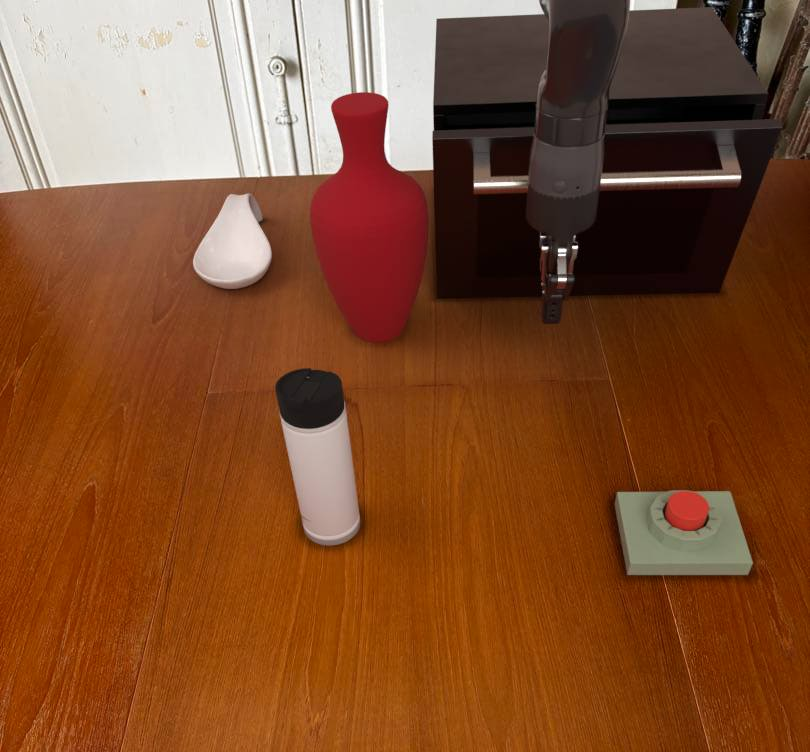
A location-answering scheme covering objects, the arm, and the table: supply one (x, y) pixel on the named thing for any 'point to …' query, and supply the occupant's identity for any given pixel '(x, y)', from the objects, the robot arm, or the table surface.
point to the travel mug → (319, 453)
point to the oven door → (601, 209)
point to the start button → (687, 510)
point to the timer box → (681, 537)
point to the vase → (369, 225)
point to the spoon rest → (234, 246)
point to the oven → (632, 82)
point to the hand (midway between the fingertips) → (550, 320)
